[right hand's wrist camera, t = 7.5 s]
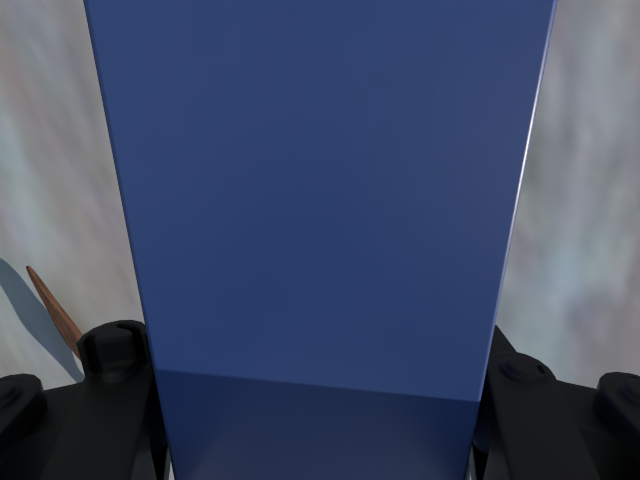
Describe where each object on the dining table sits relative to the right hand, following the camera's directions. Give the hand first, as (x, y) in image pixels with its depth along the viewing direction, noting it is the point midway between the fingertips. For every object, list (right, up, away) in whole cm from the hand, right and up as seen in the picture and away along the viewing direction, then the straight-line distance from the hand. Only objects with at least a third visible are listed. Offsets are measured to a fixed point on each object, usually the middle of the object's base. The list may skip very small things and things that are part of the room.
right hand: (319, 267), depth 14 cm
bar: (0, +9, -3) cm, 9 cm away
